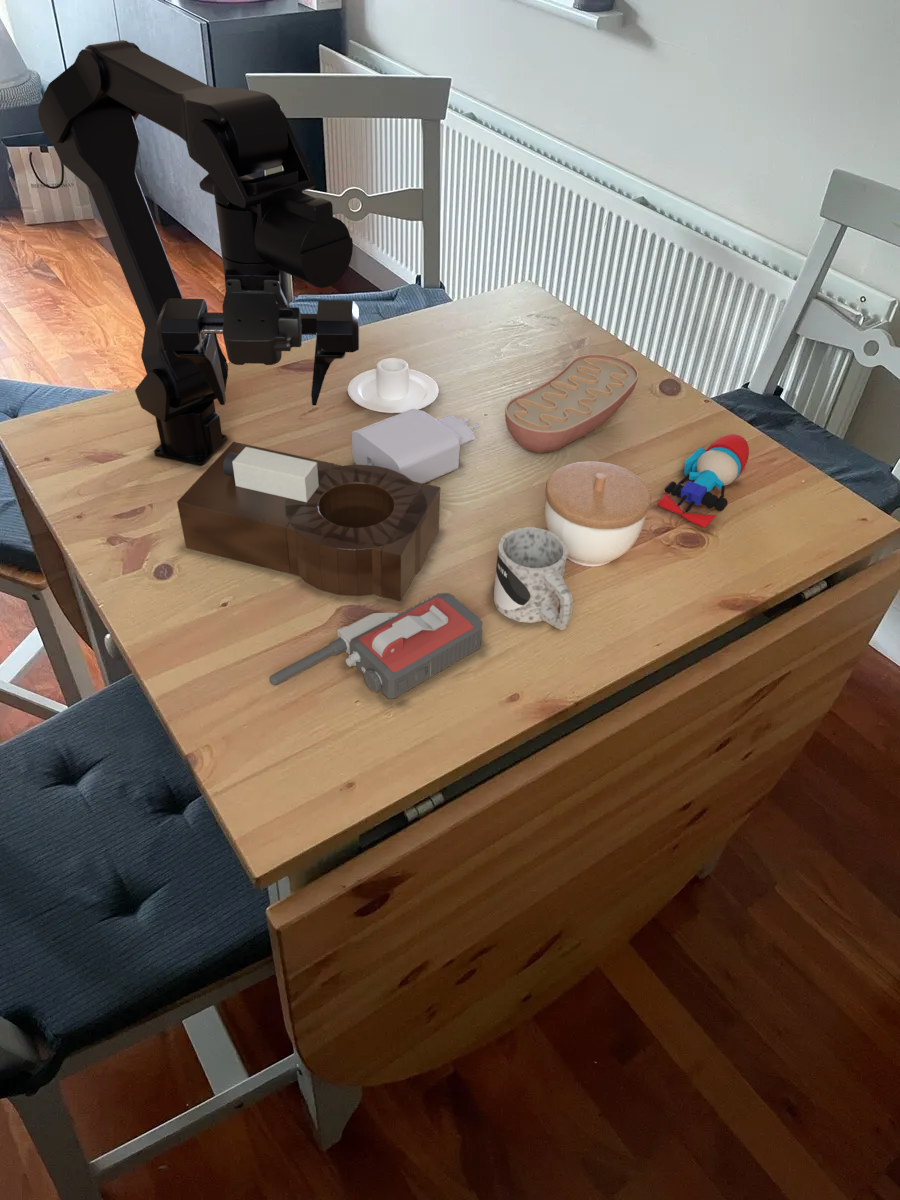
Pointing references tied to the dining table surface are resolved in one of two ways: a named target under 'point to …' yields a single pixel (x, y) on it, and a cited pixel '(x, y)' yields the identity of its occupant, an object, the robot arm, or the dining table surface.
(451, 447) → the charger
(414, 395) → the candle holder
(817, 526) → the dining table surface
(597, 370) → the anatomical model
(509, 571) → the mug
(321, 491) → the wooden desk organizer
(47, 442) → the dining table surface
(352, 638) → the walkie-talkie
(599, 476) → the trinket box
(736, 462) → the toy figure
